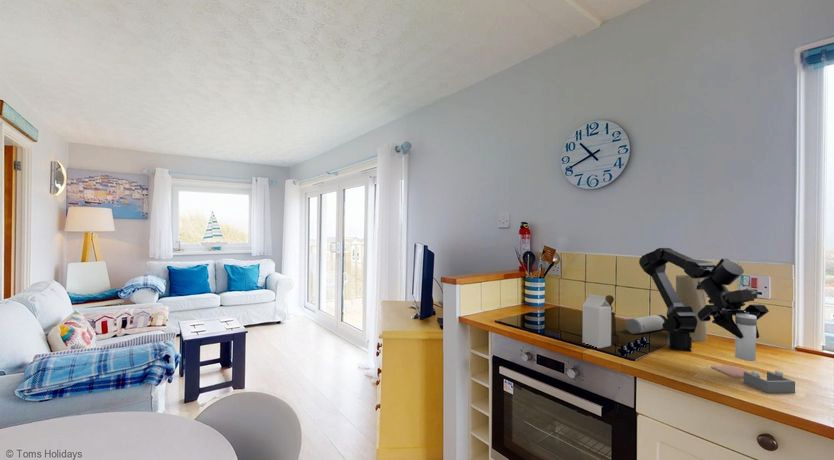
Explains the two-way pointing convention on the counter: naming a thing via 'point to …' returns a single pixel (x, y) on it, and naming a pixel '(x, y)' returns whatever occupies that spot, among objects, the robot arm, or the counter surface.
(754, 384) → the cartridge housing
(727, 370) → the mat
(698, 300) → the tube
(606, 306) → the milk carton
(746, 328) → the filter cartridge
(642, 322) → the travel mug
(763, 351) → the counter surface
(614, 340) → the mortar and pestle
